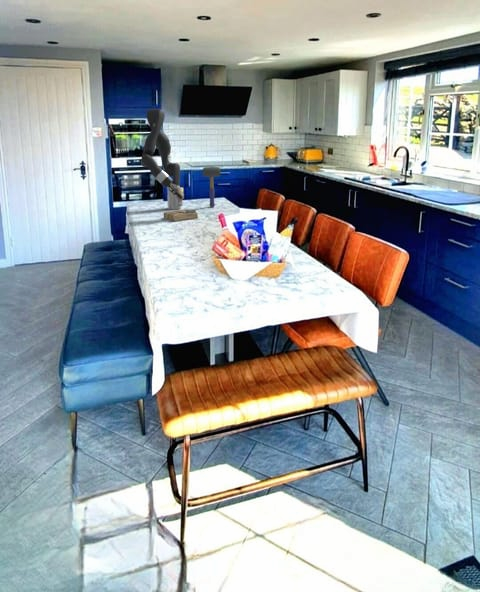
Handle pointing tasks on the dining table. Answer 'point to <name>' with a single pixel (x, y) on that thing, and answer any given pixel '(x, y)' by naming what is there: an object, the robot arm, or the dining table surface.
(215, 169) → the rubber mallet
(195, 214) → the subfloor panel
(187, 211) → the stud finder
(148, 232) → the dining table surface
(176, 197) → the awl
